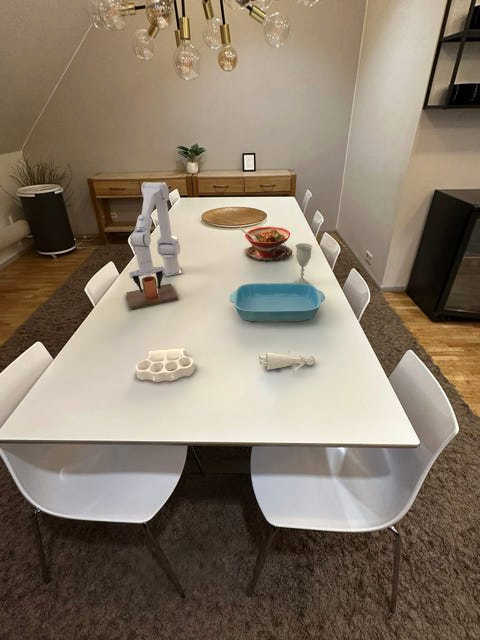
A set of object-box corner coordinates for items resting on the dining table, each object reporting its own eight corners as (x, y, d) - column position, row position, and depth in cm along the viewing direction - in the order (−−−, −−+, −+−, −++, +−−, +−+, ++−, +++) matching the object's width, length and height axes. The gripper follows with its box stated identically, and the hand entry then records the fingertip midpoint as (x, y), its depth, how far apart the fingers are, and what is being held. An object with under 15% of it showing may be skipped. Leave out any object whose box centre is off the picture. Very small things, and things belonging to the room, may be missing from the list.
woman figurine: (257, 343, 113) (312, 343, 114) (256, 354, 115) (310, 354, 116) (261, 367, 103) (320, 367, 104) (260, 378, 105) (318, 378, 106)
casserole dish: (227, 325, 130) (226, 309, 126) (232, 297, 149) (232, 282, 145) (326, 326, 128) (328, 310, 124) (319, 297, 146) (320, 282, 142)
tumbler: (143, 293, 152) (140, 277, 148) (156, 290, 153) (154, 275, 149) (146, 298, 147) (142, 283, 143) (159, 296, 149) (156, 280, 145)
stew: (233, 260, 182) (231, 230, 174) (249, 244, 201) (248, 217, 192) (284, 267, 173) (285, 236, 164) (296, 249, 191) (297, 221, 183)
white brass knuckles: (195, 352, 117) (194, 382, 105) (141, 356, 116) (134, 387, 104) (194, 344, 115) (192, 374, 103) (139, 348, 114) (132, 379, 102)
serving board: (126, 295, 154) (126, 292, 153) (171, 286, 160) (170, 283, 159) (130, 310, 143) (130, 306, 142) (178, 299, 149) (177, 296, 148)
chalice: (311, 282, 158) (314, 244, 148) (307, 288, 153) (310, 250, 143) (295, 279, 161) (298, 242, 151) (291, 285, 156) (293, 247, 146)
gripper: (127, 267, 136) (134, 297, 144) (164, 260, 141) (169, 290, 148) (125, 261, 142) (132, 290, 149) (160, 254, 146) (165, 283, 154)
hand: (150, 289), depth 149 cm, fingers open, 7 cm apart
